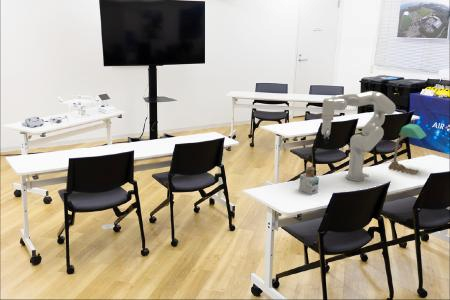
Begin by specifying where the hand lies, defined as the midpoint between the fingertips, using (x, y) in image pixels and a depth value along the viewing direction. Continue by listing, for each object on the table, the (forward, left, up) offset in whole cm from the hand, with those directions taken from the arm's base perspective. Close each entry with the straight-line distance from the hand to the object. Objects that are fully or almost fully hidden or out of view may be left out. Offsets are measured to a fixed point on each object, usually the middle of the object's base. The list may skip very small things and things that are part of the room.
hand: (325, 142), depth 302 cm
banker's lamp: (-64, -37, -28) cm, 79 cm away
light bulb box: (+10, +20, -29) cm, 36 cm away
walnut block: (+10, +20, -18) cm, 28 cm away
